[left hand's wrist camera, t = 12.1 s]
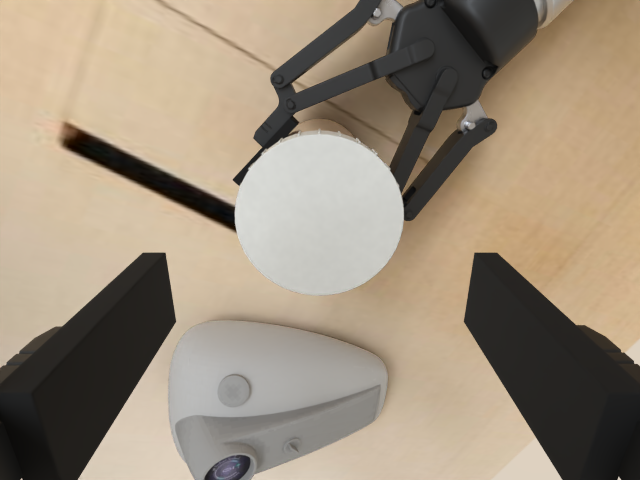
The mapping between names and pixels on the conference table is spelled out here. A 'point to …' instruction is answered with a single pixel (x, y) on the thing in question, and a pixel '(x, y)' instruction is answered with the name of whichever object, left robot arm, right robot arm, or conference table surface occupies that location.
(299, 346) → the projector
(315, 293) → the lid
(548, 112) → the conference table surface
